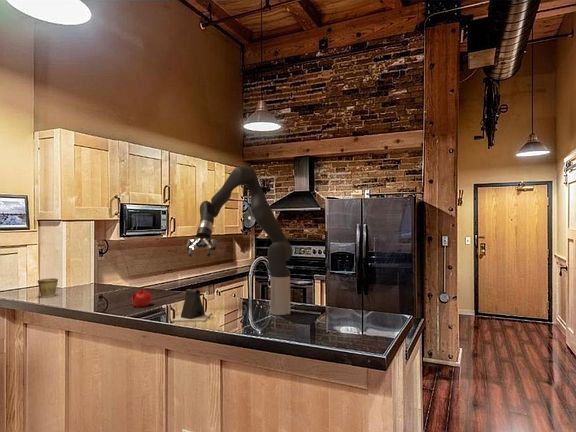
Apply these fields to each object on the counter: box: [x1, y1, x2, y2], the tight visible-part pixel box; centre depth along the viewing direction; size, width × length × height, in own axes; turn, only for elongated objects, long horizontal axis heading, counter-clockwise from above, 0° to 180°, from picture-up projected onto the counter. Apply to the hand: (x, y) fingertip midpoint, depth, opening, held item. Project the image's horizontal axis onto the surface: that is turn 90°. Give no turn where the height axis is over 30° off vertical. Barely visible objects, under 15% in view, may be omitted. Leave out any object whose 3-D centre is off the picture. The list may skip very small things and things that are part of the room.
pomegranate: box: [131, 287, 153, 308], centre depth 197 cm, size 10×10×9 cm
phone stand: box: [180, 288, 205, 319], centre depth 172 cm, size 9×6×12 cm, turn 147°
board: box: [172, 311, 213, 323], centre depth 172 cm, size 14×14×1 cm
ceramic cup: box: [37, 277, 59, 299], centre depth 224 cm, size 13×10×10 cm
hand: (199, 255), depth 184 cm, fingers open, 8 cm apart
